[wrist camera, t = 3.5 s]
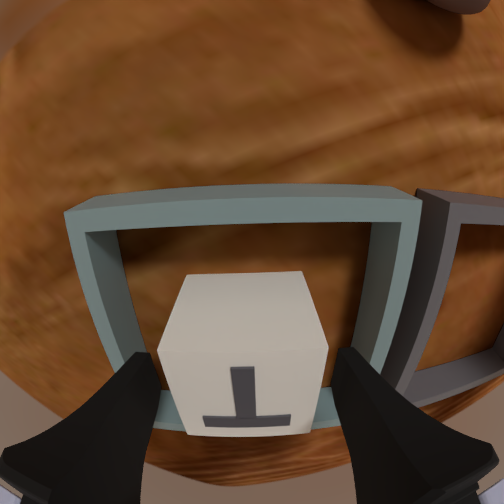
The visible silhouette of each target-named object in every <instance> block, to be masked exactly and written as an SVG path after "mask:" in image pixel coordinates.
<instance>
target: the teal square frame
mask: <svg viewBox="0 0 504 504" xmlns="http://www.w3.org/2000/svg"><path fill="white" fill-rule="evenodd" d="M421 209H422V200H420V199H418V198H416V197H414V196H412V195H410V194H407V193H405V192H403V191H401V190H398V189H396V188H394V187H391V186H373V185H349V184H245V185H220V186H201V187H186V188H172V189H160V190H149V191H138V192H129V193H120V194H111V195H103V196H95V197H93V198H91V199H89V200H87V201H85V202H83V203H81V204H79V205H77V206H75V207H73V208H71V209H69V210H67V211H65V212H64V216H65V221H66V226H67V231H68V236H69V240H70V244H71V249H72V253H73V257H74V260H75V264H76V268H77V271H78V275H79V278H80V282H81V285H82V288H83V292H84V295H85V298H86V301H87V304H88V307H89V310H90V313H91V315H92V318H93V321H94V324H95V326H96V329H97V332H98V334H99V337H100V339H101V342H102V344H103V347H104V349H105V351H106V354H107V356H108V358H109V361H110V363H111V365H112V367H113V370H114V372H115V373H116V372H117V371H118V370H119V369H120V368H121V366H122V365H123V364H124V363H125V362H126V361H127V360H128V359H129V358H130V357H131V356H132V355H133V354H134V353H135V352H147V351H146V348H145V345H144V342H143V338H142V335H141V332H140V329H139V325H138V322H137V318H136V315H135V311H134V308H133V304H132V300H131V296H130V292H129V289H128V284H127V280H126V276H125V272H124V267H123V263H122V258H121V253H120V248H119V243H118V238H117V233H116V230H121V229H137V228H155V227H174V226H195V225H220V224H250V223H291V222H372V226H371V235H370V243H369V251H368V258H367V265H366V271H365V278H364V284H363V289H362V295H361V300H360V306H359V311H358V316H357V320H356V325H355V330H354V334H353V339H352V343H351V347H354V348H355V349H356V350H357V351H358V352H359V353H360V354H361V355H362V356H363V357H364V358H365V360H366V361H367V362H368V363H369V364H370V365H371V366H372V367H373V368H374V369H375V370H376V371H377V372H378V373H379V374H380V373H381V370H382V368H383V365H384V362H385V359H386V357H387V354H388V351H389V348H390V345H391V342H392V339H393V336H394V333H395V329H396V326H397V323H398V319H399V316H400V312H401V309H402V305H403V301H404V297H405V294H406V289H407V285H408V281H409V277H410V272H411V268H412V263H413V258H414V253H415V247H416V242H417V236H418V230H419V223H420V216H421ZM339 425H341V424H340V421H339V417H338V414H337V411H336V408H335V404H334V399H333V394H332V388H331V387H326V388H320V393H319V397H318V401H317V406H316V410H315V414H314V418H313V422H312V426H311V429H318V428H326V427H333V426H339ZM153 428H158V429H167V430H176V431H186V430H185V427H184V425H183V422H182V420H181V417H180V415H179V412H178V410H177V407H176V404H175V402H174V399H173V396H172V394H171V391H170V390H161V393H160V400H159V406H158V411H157V414H156V418H155V421H154V425H153Z"/></svg>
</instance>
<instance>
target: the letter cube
mask: <svg viewBox="0 0 504 504" xmlns="http://www.w3.org/2000/svg"><path fill="white" fill-rule="evenodd" d="M157 352H158V355H159V358H160V361H161V364H162V368H163V371H164V374H165V377H166V379H167V382H168V385H169V388H170V391H171V394H172V396H173V399H174V402H175V404H176V407H177V410H178V412H179V415H180V417H181V420H182V422H183V425H184V427H185V430H186V432H187V434H188V435H199V436H221V437H257V436H279V435H292V434H303V433H310V430H311V426H312V422H313V418H314V414H315V410H316V406H317V401H318V397H319V393H320V388H321V383H322V378H323V373H324V368H325V363H326V358H327V353H328V344H327V341H326V338H325V335H324V332H323V329H322V327H321V324H320V321H319V318H318V315H317V312H316V309H315V306H314V304H313V301H312V298H311V295H310V292H309V290H308V287H307V284H306V281H305V278H304V276H303V273H302V271H293V272H267V273H235V274H194V275H186V278H185V280H184V283H183V285H182V288H181V290H180V293H179V295H178V298H177V300H176V303H175V305H174V308H173V310H172V313H171V315H170V318H169V320H168V323H167V325H166V328H165V331H164V333H163V336H162V339H161V341H160V344H159V347H158V349H157Z"/></svg>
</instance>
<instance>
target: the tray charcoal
mask: <svg viewBox="0 0 504 504" xmlns="http://www.w3.org/2000/svg"><path fill="white" fill-rule="evenodd" d="M416 198H418V199H420V200H422V209H421V216H420V223H419V230H418V236H417V242H416V247H415V253H414V258H413V263H412V268H411V272H410V277H409V281H408V285H407V289H406V294H405V297H404V301H403V305H402V309H401V312H400V316H399V319H398V323H397V326H396V329H395V333H394V336H393V339H392V342H391V345H390V348H389V351H388V354H387V357H386V359H385V362H384V365H383V368H382V370H381V373H380V375H381V376H382V377H383V378H384V379H385V380H386V381H387V382H388V383H389V384H390V385H391V386H392V387H393V388H394V389H395V390H396V391H398V392H399V393H400V394H401V395H402V396H403V397H405V398H406V399H407V400H408V401H409V402H411V403H412V404H413V405H415V406H416V407H417V408H418V407H421V406H425V405H428V404H431V403H434V402H437V401H440V400H443V399H445V398H448V397H451V396H453V395H456V394H459V393H461V392H464V391H466V390H469V389H471V388H473V387H476V386H478V385H480V384H483V383H485V382H487V381H489V380H491V379H493V378H496V377H498V376H500V375H502V374H504V324H503V326H502V329H501V331H500V333H499V335H498V337H497V339H496V341H495V343H494V345H493V347H492V348H490V349H488V350H485V351H482V352H479V353H477V354H474V355H471V356H468V357H465V358H462V359H459V360H455V361H452V362H449V363H445V364H442V365H438V366H435V367H431V368H427V369H424V370H420V371H416V372H415V369H416V367H417V365H418V363H419V361H420V358H421V356H422V354H423V351H424V349H425V346H426V344H427V341H428V339H429V336H430V334H431V331H432V328H433V326H434V323H435V320H436V317H437V314H438V311H439V308H440V305H441V302H442V299H443V296H444V293H445V289H446V286H447V282H448V279H449V275H450V271H451V268H452V264H453V259H454V255H455V251H456V246H457V242H458V237H459V232H460V226H461V223H463V224H489V225H504V199H503V198H497V197H490V196H483V195H476V194H468V193H459V192H450V191H441V190H430V189H419V188H417V196H416Z"/></svg>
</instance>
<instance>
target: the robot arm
mask: <svg viewBox="0 0 504 504" xmlns="http://www.w3.org/2000/svg"><path fill="white" fill-rule="evenodd" d="M331 388H332V394H333V399H334V404H335V408H336V411H337V414H338V417H339V421H340V424H341V427H342V430H343V433H344V436H345V439H346V443H347V446H348V449H349V453H350V457H351V462H352V468H353V474H354V481H355V489H356V498H357V504H504V478H502V479H501V480H499V481H498V482H497V483H495V484H494V485H492V486H491V487H489V488H488V489H486V490H485V491H483V492H482V493H481V494H479V495H477V493H476V490H478V489H479V485H478V483H477V482H478V481H479V480H480V479H481V478H483V477H484V476H485V475H486V474H488V473H489V472H490V471H491V470H492V469H494V468H495V467H496V466H497V465H498V463H499V458H498V456H497V454H496V452H495V450H494V448H493V447H492V445H491V444H490V443H487V442H484V441H481V440H478V439H475V438H472V437H469V436H467V435H464V434H462V433H460V432H458V431H455V430H453V429H451V428H449V427H447V426H445V425H444V424H442V423H440V422H439V421H437V420H435V419H434V418H432V417H430V416H429V415H427V414H426V413H424V412H423V411H422V410H420V409H419V408H417V407H416V406H415V405H413V404H412V403H411V402H409V401H408V400H407V399H406V398H405V397H403V396H402V395H401V394H400V393H399V392H398V391H396V390H395V389H394V388H393V387H392V386H391V385H390V384H389V383H388V382H387V381H386V380H385V379H384V378H383V377H382V376H381V375H380V374H379V373H378V372H377V371H376V370H375V369H374V368H373V367H372V366H371V365H370V364H369V363H368V362H367V361H366V360H365V358H364V357H363V356H362V355H361V354H360V353H359V352H358V351H357V350H356V349H355V348H354V347H347V348H339V349H338V353H337V358H336V362H335V367H334V371H333V375H332V380H331ZM160 393H161V384H160V381H159V379H158V376H157V373H156V370H155V367H154V364H153V362H152V359H151V356H150V353H147V352H135V353H134V354H133V355H132V356H131V357H130V358H129V359H128V360H127V361H126V362H125V363H124V364H123V365H122V366H121V368H120V369H119V370H118V371H117V372H116V373H115V374H114V375H113V376H112V377H111V378H110V379H109V380H108V381H107V382H106V383H105V384H104V385H103V386H102V387H101V388H100V389H99V390H98V391H97V392H96V393H95V394H94V395H93V396H92V397H91V398H90V399H89V400H88V401H87V402H85V403H84V404H83V405H82V406H81V407H80V408H78V409H77V410H76V411H75V412H73V413H72V414H71V415H69V416H68V417H67V418H65V419H64V420H62V421H61V422H59V423H57V424H56V425H54V426H53V427H51V428H50V429H48V430H46V431H45V432H42V433H41V434H39V435H37V436H35V437H32V438H30V439H28V440H26V441H24V442H21V443H18V444H15V445H13V446H10V447H7V448H5V449H4V450H3V453H2V455H1V457H0V478H2V479H3V480H4V481H6V482H7V483H8V484H10V485H11V486H12V487H14V488H15V489H16V490H18V491H19V492H21V493H22V494H23V497H22V499H21V498H20V497H18V496H17V495H15V494H14V493H12V492H11V491H9V490H8V489H6V488H5V487H3V486H2V485H0V504H140V494H141V481H142V473H143V464H144V459H145V454H146V450H147V446H148V443H149V439H150V436H151V432H152V429H153V425H154V421H155V418H156V414H157V411H158V406H159V400H160Z"/></svg>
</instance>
